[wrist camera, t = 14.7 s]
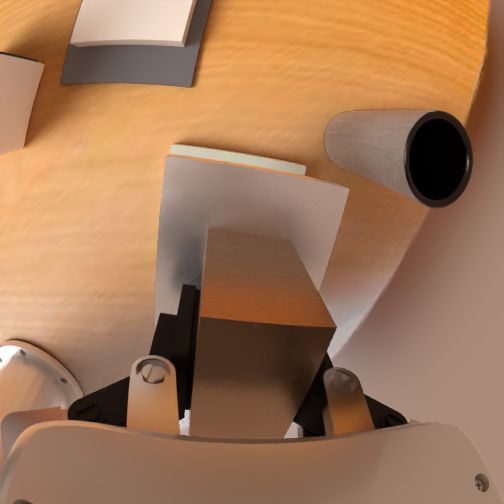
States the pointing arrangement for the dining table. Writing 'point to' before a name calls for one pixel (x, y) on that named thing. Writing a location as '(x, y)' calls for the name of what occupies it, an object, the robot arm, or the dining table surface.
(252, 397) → the float
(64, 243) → the dining table surface
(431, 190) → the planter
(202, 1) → the mat
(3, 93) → the medicine bottle
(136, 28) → the tile
